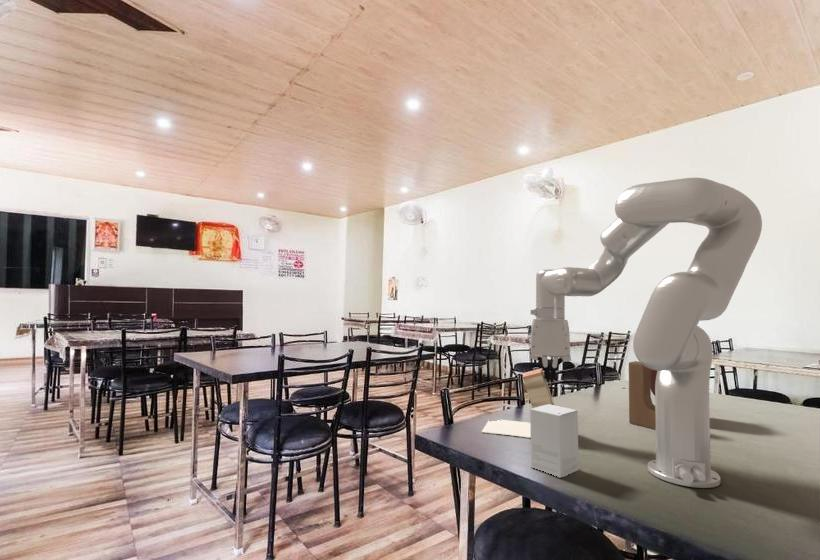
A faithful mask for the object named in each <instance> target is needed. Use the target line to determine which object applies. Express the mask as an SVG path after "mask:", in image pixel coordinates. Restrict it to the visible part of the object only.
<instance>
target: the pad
mask: <svg viewBox="0 0 820 560" xmlns="http://www.w3.org/2000/svg"><path fill="white" fill-rule="evenodd" d="M500 420H501V421H500ZM500 420H497V421H491V422H490V421H489V420H488V421H487V422H486V424H485V425H484V427H483V428H482V429H481V434H487V433H489V435H496V434H502V435H501V436H504V435H511V436H510V437H513V436H519V437H518V438H521V437H526V438H525V439H530V438H531V433H530V422H528V421H527V422H526V421H517V420H509V419H500Z"/></svg>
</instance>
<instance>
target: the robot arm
mask: <svg viewBox="0 0 820 560" xmlns="http://www.w3.org/2000/svg"><path fill="white" fill-rule="evenodd" d="M614 204H615V205H614V211H615V215H616V217H617V218H616V219H615V220H613V222H612V223H610V224H609V226H607V227H606V228H605V229H604V230H603V231H602V232H601V234H600V237H599V238H600V242H601V244H602V246H603V247H604V250H603V251H602V254H601V255H600V256H599V258H597V259H596V260H595V261H594V262H593V263H592V264H591V265H589V267H587V268H586V267H572V266H571V267H569V266H567V267H561V268H556V269H541V270H538V271H537V273H536V276H535V307H536V308H535V309H530V315H533V316H534V317H535V318H533V319H532V324H531V331H530V355H529V359H530V360H531V359H532V360H534V361H538V362H539V363H540V364H541V365H542V367H544V370H543V372H544V379H546V381H547V383H552V384H553V383H554V380H557V367H558V366H560V365H561V364H562V363H565V362H570V361H571V360H572V358H571V338H570V327H569V322H568V319H565V317H566V315H565V313H566V312H565V309H566V308H565V306H566V305H565V303H566V302H565V301H566V300H565V299H566V298H565V297H593V296H595V295H598V294H600V293H601V292H603V291H604V290H605V289H606V288H607V287H609V286H610V285H612V283H614V282H615V281H616V280H617V278H619V277H620V276H621V274H622V273H623V271H624V269H625V267H626V265H627V263H628V260H629V259H630V257H631V256H632V255H634V254H635V253H636V252H637V251H638V250H640V249H641V248H642V247H643V246H644V245H646V243H648V242H650V240H651V239H653V238H654V237H655V236H656V235H657V234H659V232H660V231H662V230H663V229H664V228H666V226H668V225H669V224H670V223H673V224H674V223H688V224H694V225H698V226H702V227H706V228H707V229H708V233H707V236H706V237H705V238H704V239H703V241H701V243H700V245H699V246H698V248H697V250H696V252H695V254H694V257H693V258H692V259H693V260H692V261H691V263H690V266H689V267H688V268H687V271H678V272H674V273H671V274H669V275H667V276H666V277H664V278H663V279H662V280H661V281H660V282H659V283H658V284H656V286H655V288H654V289H653V291H652V293H651V295H650V297H649V300H648V302H647V303H646V307H645V309H644V312H643V314H642V315H641V318H640V321H639V323H638V325H637V328H636V330H635V333H634V337H633V343H632V349H633V352H634V356H635V357H636V359H637V361H638V362H640V363H641V364H643V365H644V366H645V367H647V368H649V369H652V370H657V375H656V382H655V396H654V404H655V405H654V406H655V421H656V429H655V459H652V460H650V461H648V463H647V471H648V472H650V473H651V474H652V476H655V477H656V478H658V479H661V480H663V481H665V482H668V483H671V484H674V485H678V486H682V487H689V488H696V489H711V488H716V487H718V486H719V485H721V482H722V481H721V476H720V475H719V473H718V472H716V471H714V469H712V467H711V466H712V464H711V462H712V461H711V427H710V426H711V423H710V422H711V420H710V415H711V414H710V377H711V368H712V361H713V356H714V355H713V354H714V353H713V349H714V348H713V344H712V343H713V342H712V341H711V338H710V336H709V334H708V333H707V332H706V331H705V330H704V329H703V328H702V327H700V326H698V324H699V322H700V321H702V322H703V321H711V320H714V319H716V318H719V317H720V316H722V315H723V313H724V312H725V311H726V309H727V308H728V307H729V304H730V302H731V299H732V297H733V295H734V293H735V290H736V289H737V287H738V284H739V283H740V280H741V278H742V277H743V274H744V272H745V270H746V267H747V265H748V263H749V260H750V258H751V257H752V254H753V253H754V250H755V249H756V246H757V244H758V242H759V240H760V237H761V234H762V230H763V220H762V215H761V212H760V210H759V208H758V206H757V205H756V203H754V201H753V200H752V199H751V198H749V197H748V196H747V195H746V194H744V193H743V192H741V191H740V190H738V189H736V188H734V187H732V186H729V185H726V184H724V183H720V182H717V181H715V180H711V179H708V178H704V177H686V178H678V179H676V178H675V179H670V180H663V181H654V182H646V183H640V184H639V183H638V184H635V185H632V186H630V187H628V188H626V189H625V190H623V191H622V192H621V193H620V194H619V196H618V197H617V200H616V202H615V203H614ZM548 357H549V358H550V357H552V358H553V359H552V364H551V365H550V364H549V362H548Z"/></svg>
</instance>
